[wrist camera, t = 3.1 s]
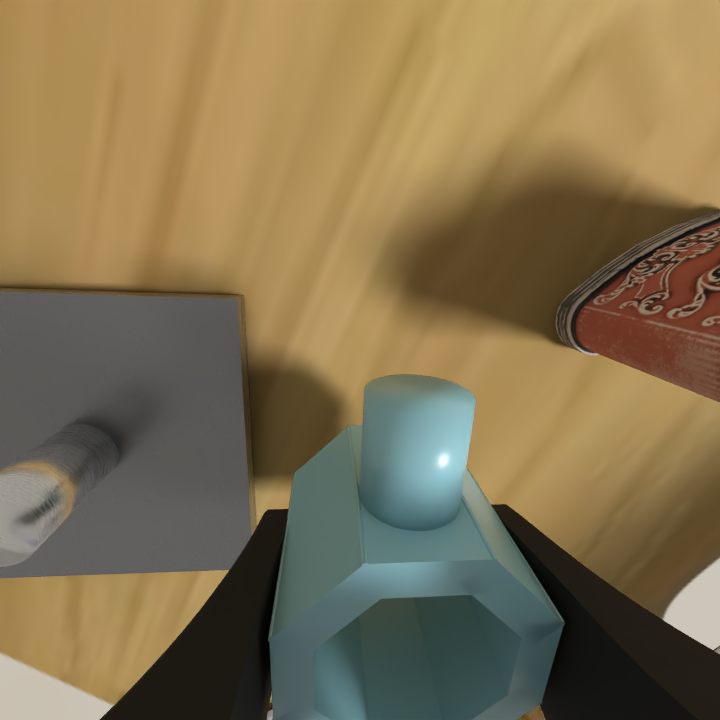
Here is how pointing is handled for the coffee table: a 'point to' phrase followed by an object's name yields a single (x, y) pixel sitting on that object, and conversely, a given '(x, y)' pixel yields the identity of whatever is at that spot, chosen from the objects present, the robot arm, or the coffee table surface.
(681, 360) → the lighter
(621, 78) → the coffee table surface
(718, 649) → the gable box
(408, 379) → the elbow collar
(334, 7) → the coffee table surface
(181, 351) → the base
